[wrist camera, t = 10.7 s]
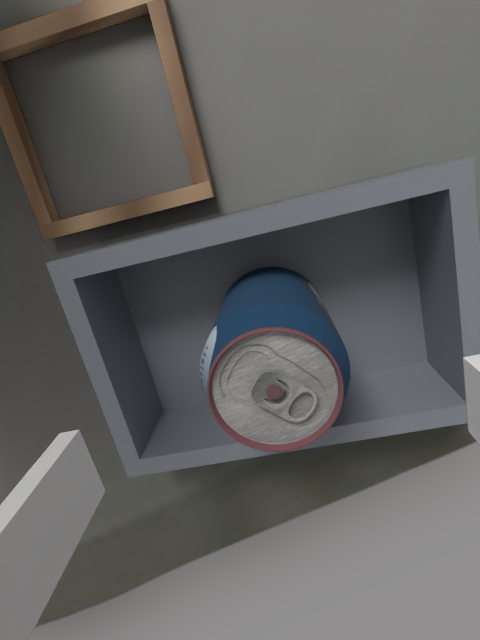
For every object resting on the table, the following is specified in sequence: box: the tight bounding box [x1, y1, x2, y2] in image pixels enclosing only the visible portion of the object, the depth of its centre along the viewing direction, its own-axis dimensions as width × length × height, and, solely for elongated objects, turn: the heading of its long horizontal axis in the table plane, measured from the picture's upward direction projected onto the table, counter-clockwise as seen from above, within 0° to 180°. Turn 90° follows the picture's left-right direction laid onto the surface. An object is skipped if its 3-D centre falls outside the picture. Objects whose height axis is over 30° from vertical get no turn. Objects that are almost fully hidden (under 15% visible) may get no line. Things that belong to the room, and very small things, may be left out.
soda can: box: [200, 267, 350, 452], centre depth 22 cm, size 7×7×12 cm
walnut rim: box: [0, 0, 216, 240], centre depth 25 cm, size 12×12×1 cm
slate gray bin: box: [46, 156, 480, 478], centre depth 25 cm, size 22×14×7 cm, turn 104°
